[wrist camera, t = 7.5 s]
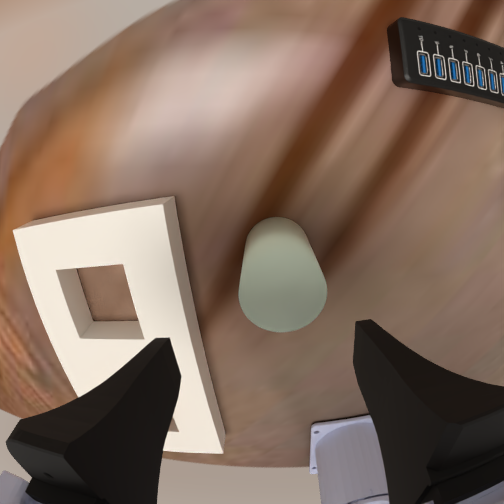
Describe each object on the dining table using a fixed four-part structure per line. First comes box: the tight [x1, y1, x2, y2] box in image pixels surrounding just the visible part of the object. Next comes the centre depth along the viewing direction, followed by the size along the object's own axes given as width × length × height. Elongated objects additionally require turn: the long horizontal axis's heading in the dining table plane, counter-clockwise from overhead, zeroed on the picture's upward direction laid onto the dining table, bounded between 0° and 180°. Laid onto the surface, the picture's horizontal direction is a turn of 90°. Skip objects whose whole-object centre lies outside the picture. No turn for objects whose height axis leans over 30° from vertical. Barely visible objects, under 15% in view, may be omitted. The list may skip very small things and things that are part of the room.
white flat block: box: [13, 196, 226, 453], centre depth 22 cm, size 22×12×2 cm, turn 6°
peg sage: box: [238, 217, 327, 332], centre depth 17 cm, size 4×4×6 cm
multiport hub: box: [387, 17, 504, 108], centre depth 15 cm, size 4×14×2 cm, turn 93°
